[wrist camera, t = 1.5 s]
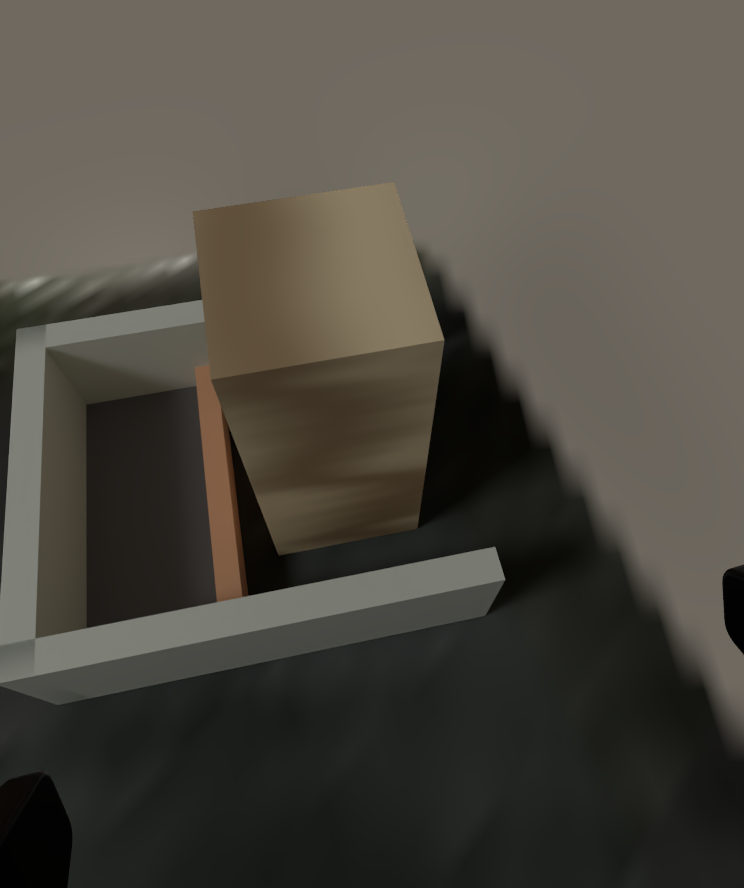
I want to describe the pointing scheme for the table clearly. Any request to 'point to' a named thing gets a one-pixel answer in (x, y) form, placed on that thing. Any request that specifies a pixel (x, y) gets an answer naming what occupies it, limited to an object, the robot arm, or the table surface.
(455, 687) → the table surface
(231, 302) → the maple block
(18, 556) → the trap trough
